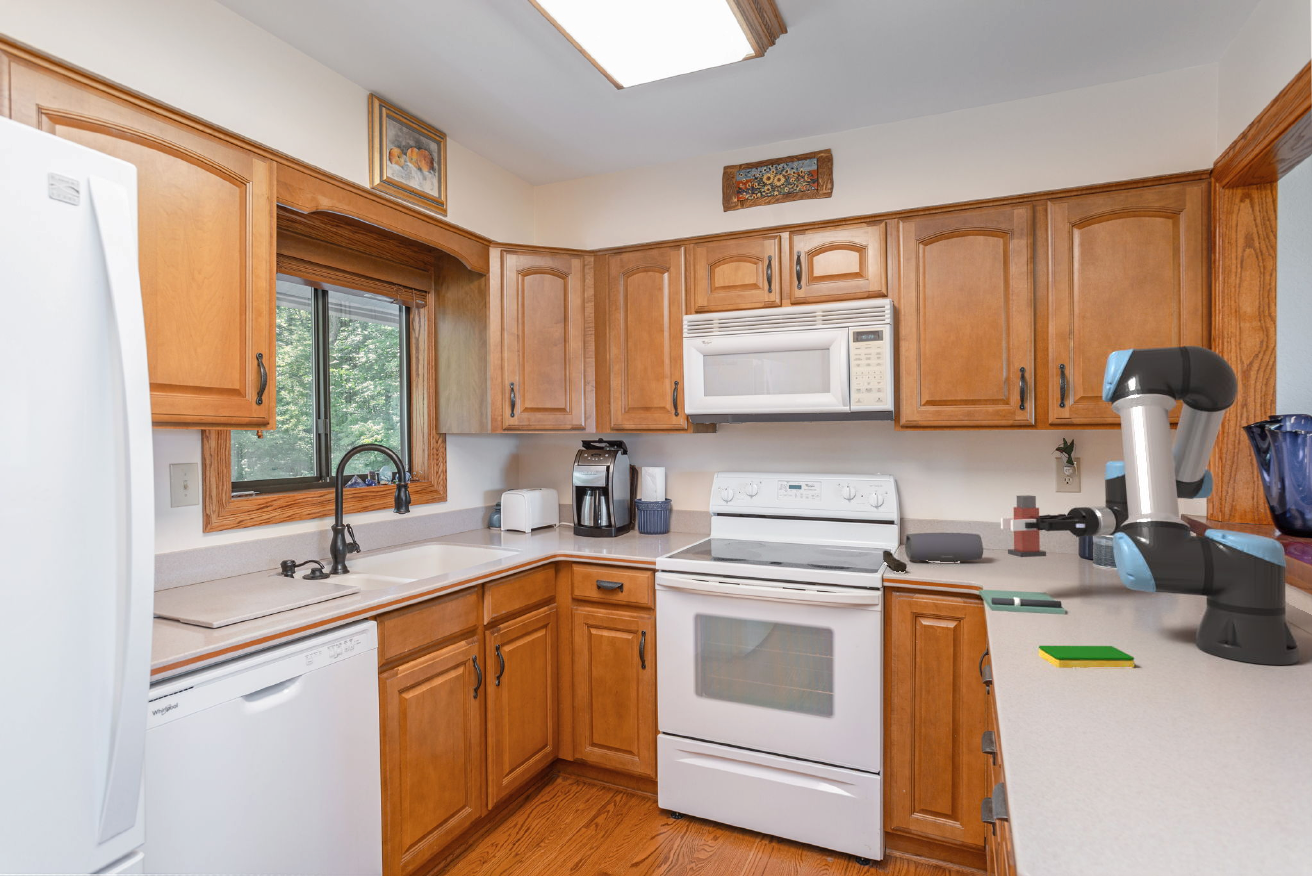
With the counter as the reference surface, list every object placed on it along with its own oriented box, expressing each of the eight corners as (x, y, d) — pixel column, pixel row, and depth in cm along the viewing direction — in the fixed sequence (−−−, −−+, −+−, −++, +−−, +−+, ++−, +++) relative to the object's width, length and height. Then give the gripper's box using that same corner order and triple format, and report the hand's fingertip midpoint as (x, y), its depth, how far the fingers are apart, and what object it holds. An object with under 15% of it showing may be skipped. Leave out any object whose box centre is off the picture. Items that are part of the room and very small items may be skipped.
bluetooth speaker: (973, 560, 230) (973, 530, 230) (984, 565, 220) (983, 534, 220) (904, 559, 232) (904, 530, 232) (912, 565, 223) (911, 534, 223)
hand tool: (907, 575, 209) (907, 559, 209) (893, 574, 209) (893, 559, 209) (893, 563, 228) (893, 549, 228) (880, 563, 228) (880, 549, 228)
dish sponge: (1135, 670, 124) (1135, 657, 124) (1057, 670, 125) (1057, 656, 125) (1112, 657, 131) (1111, 645, 131) (1038, 657, 132) (1037, 645, 132)
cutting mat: (1065, 614, 161) (1065, 601, 161) (991, 610, 166) (991, 598, 166) (1045, 596, 178) (1045, 585, 178) (978, 593, 183) (978, 582, 183)
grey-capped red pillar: (1046, 556, 172) (1045, 496, 172) (1020, 557, 171) (1020, 497, 171) (1032, 552, 177) (1031, 494, 177) (1007, 553, 176) (1007, 495, 176)
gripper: (1114, 540, 169) (1028, 544, 165) (1066, 531, 185) (987, 534, 181) (1114, 510, 169) (1028, 513, 165) (1066, 504, 185) (986, 506, 181)
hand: (1006, 524), depth 173 cm, fingers closed on grey-capped red pillar, 3 cm apart
